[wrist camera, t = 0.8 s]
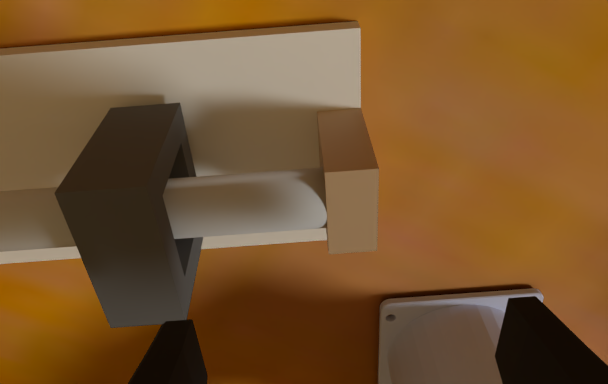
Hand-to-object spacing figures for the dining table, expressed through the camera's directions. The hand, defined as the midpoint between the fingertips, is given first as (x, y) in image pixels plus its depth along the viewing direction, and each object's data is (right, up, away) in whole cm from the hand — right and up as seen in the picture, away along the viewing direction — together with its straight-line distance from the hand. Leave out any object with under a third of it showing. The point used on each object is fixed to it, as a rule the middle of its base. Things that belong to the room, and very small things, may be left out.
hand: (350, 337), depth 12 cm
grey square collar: (-6, +4, +7) cm, 10 cm away
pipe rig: (-10, +5, +8) cm, 14 cm away
